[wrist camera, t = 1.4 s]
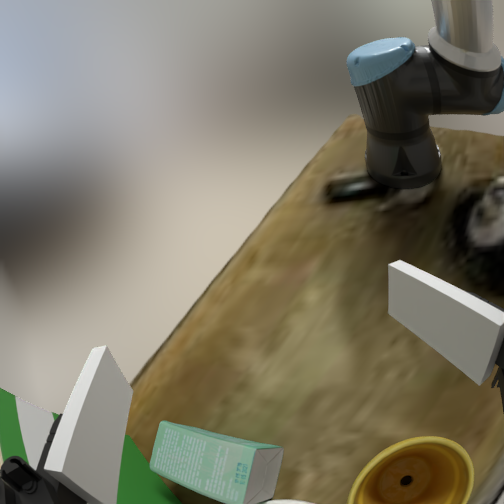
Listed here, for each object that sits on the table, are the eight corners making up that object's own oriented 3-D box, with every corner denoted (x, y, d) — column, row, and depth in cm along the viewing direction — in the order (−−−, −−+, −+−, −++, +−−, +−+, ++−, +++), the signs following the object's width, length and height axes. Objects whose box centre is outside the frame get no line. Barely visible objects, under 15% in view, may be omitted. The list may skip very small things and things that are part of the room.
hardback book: (191, 513, 22) (19, 508, 6) (166, 535, 20) (9, 531, 4) (129, 435, 34) (-4, 385, 18) (111, 459, 32) (-16, 418, 16)
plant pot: (466, 447, 15) (497, 449, 9) (416, 527, 12) (424, 559, 5) (389, 424, 22) (390, 420, 16) (339, 500, 18) (318, 525, 12)
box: (193, 426, 32) (156, 418, 27) (285, 445, 26) (258, 447, 21) (183, 470, 28) (144, 469, 23) (273, 498, 22) (243, 510, 16)
